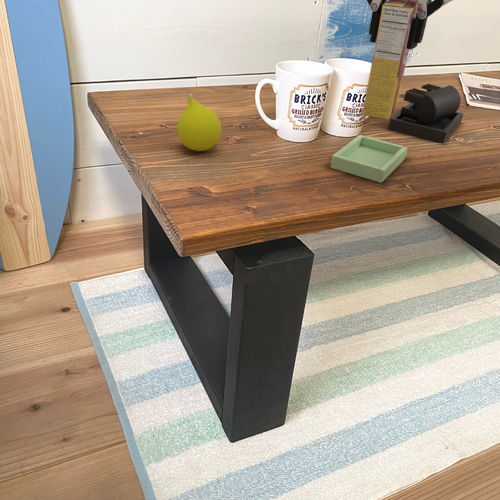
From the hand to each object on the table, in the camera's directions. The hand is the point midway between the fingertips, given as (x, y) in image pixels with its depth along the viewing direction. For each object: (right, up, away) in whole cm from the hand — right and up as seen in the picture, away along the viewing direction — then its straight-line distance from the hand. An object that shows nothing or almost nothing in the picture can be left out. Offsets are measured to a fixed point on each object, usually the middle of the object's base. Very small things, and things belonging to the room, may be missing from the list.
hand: (393, 42), depth 73 cm
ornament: (-29, -13, +11) cm, 34 cm away
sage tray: (-1, -16, +10) cm, 19 cm away
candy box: (-1, -8, +6) cm, 10 cm away
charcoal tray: (+14, -5, +27) cm, 31 cm away
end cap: (+14, -5, +27) cm, 31 cm away
